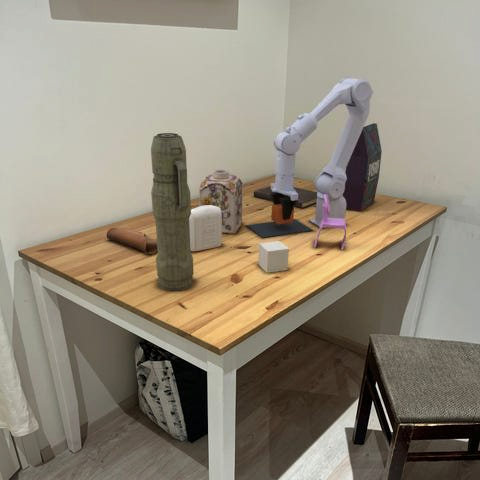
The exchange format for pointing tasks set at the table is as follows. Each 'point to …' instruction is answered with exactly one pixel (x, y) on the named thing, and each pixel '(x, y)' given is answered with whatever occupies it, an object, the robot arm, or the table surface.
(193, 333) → the table surface
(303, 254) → the table surface
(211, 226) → the photo printer
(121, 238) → the sunglasses case
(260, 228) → the back mat
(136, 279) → the table surface
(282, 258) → the white cube
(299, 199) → the hardcover book
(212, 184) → the decorative jar
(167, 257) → the thermos
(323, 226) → the toy chair
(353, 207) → the decorative box
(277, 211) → the orange box
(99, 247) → the table surface
